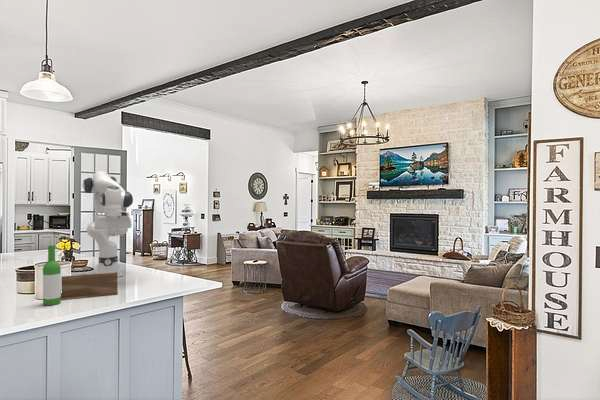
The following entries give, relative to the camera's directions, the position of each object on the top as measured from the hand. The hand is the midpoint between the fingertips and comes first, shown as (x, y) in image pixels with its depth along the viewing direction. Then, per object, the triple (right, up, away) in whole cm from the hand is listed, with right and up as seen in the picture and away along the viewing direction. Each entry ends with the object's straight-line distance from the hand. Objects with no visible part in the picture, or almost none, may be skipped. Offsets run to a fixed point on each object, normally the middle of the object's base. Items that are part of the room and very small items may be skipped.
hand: (113, 235), depth 231 cm
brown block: (-4, -31, -19) cm, 37 cm away
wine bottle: (-13, -32, -37) cm, 51 cm away
